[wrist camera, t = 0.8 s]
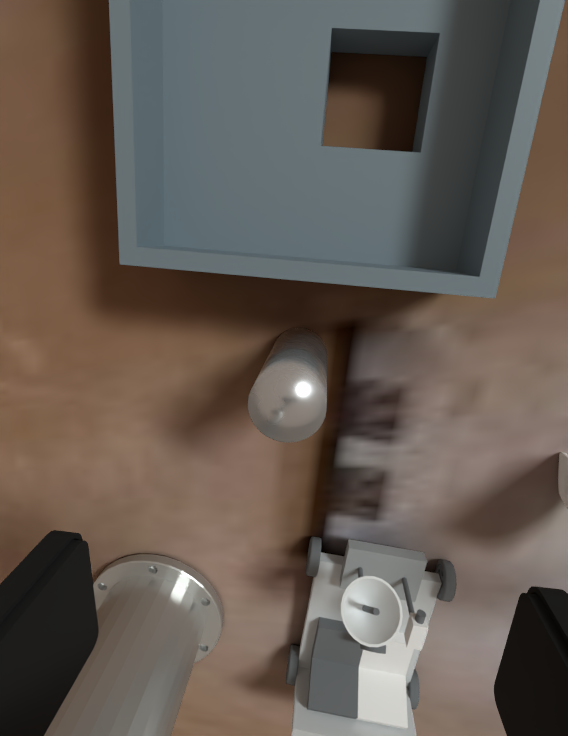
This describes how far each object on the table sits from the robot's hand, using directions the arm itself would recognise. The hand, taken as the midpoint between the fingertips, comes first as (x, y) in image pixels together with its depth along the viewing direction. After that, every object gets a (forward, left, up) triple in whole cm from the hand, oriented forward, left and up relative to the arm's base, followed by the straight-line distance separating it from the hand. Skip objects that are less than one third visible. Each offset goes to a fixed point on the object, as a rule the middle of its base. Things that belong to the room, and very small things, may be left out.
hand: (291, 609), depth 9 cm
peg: (-1, +1, -22) cm, 22 cm away
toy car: (-23, -7, -23) cm, 33 cm away
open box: (+15, +1, -22) cm, 27 cm away
